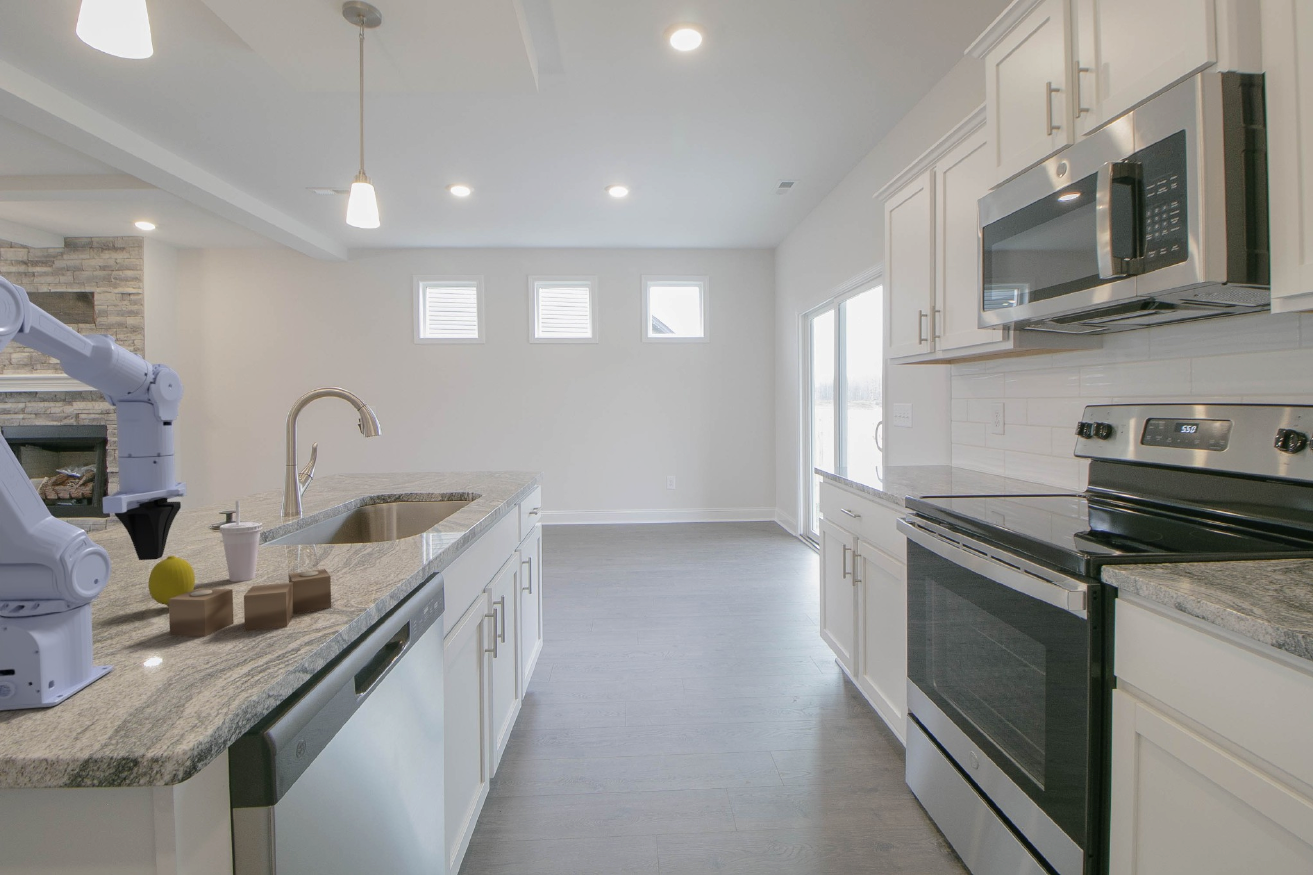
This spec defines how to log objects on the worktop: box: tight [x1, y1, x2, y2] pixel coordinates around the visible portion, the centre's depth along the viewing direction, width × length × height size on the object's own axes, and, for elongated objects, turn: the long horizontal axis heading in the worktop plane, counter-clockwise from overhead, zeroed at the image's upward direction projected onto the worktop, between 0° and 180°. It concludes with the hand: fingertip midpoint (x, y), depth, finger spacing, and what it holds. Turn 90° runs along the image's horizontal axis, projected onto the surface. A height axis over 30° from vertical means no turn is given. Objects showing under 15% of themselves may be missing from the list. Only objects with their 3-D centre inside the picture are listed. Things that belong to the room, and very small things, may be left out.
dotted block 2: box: [288, 568, 332, 615], centre depth 95 cm, size 5×5×5 cm
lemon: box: [147, 555, 196, 608], centre depth 94 cm, size 6×6×8 cm
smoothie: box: [218, 500, 263, 583], centre depth 110 cm, size 6×6×14 cm
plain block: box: [243, 582, 294, 632], centre depth 88 cm, size 5×5×5 cm
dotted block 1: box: [168, 587, 234, 638], centre depth 85 cm, size 5×5×5 cm
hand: (150, 558), depth 82 cm, fingers closed
